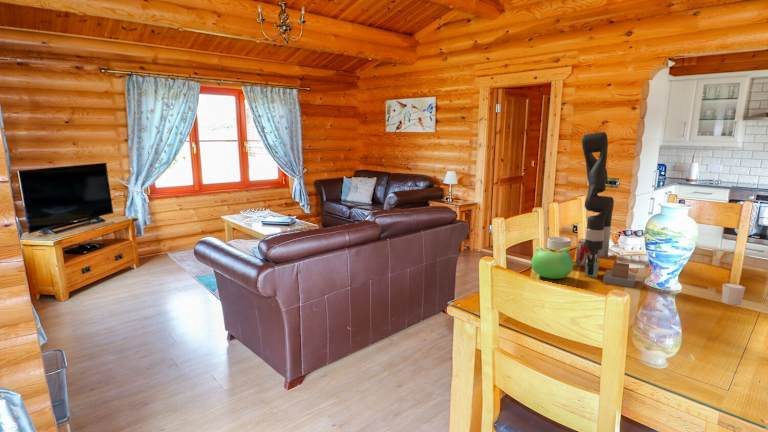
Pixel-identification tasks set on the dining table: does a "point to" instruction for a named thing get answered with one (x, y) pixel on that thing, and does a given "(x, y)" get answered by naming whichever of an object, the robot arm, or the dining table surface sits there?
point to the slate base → (619, 279)
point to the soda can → (581, 253)
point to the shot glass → (732, 293)
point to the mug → (559, 243)
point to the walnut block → (620, 269)
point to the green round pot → (552, 262)
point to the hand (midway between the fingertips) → (591, 272)
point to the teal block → (595, 271)
